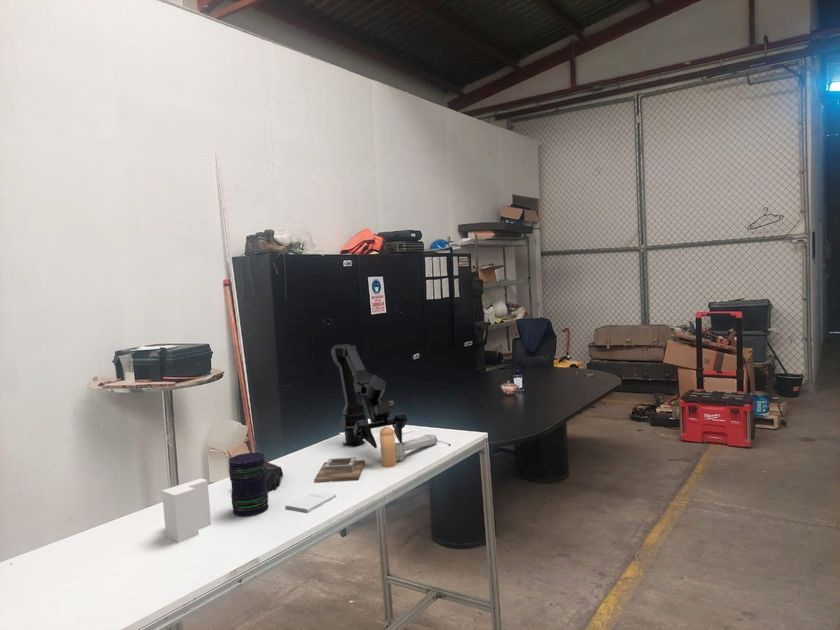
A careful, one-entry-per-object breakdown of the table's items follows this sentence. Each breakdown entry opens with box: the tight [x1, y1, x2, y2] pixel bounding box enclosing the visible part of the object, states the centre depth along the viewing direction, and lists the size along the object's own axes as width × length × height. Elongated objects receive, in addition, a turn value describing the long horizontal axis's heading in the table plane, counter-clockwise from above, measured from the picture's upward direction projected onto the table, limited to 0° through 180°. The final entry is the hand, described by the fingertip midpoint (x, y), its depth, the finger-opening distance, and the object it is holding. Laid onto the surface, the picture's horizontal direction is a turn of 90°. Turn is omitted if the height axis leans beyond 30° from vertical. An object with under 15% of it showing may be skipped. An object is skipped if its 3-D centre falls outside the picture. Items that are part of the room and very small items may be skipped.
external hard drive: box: [285, 490, 337, 514], centre depth 166 cm, size 2×8×12 cm
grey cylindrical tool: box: [395, 434, 438, 462], centre depth 210 cm, size 5×7×25 cm
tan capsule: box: [379, 426, 397, 468], centre depth 197 cm, size 5×5×13 cm
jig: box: [314, 457, 366, 483], centre depth 193 cm, size 18×14×3 cm
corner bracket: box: [161, 478, 212, 544], centre depth 153 cm, size 11×11×12 cm
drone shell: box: [264, 459, 284, 493], centre depth 187 cm, size 21×20×8 cm
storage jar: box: [228, 452, 269, 518], centre depth 164 cm, size 10×10×15 cm
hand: (388, 445), depth 196 cm, fingers open, 9 cm apart
